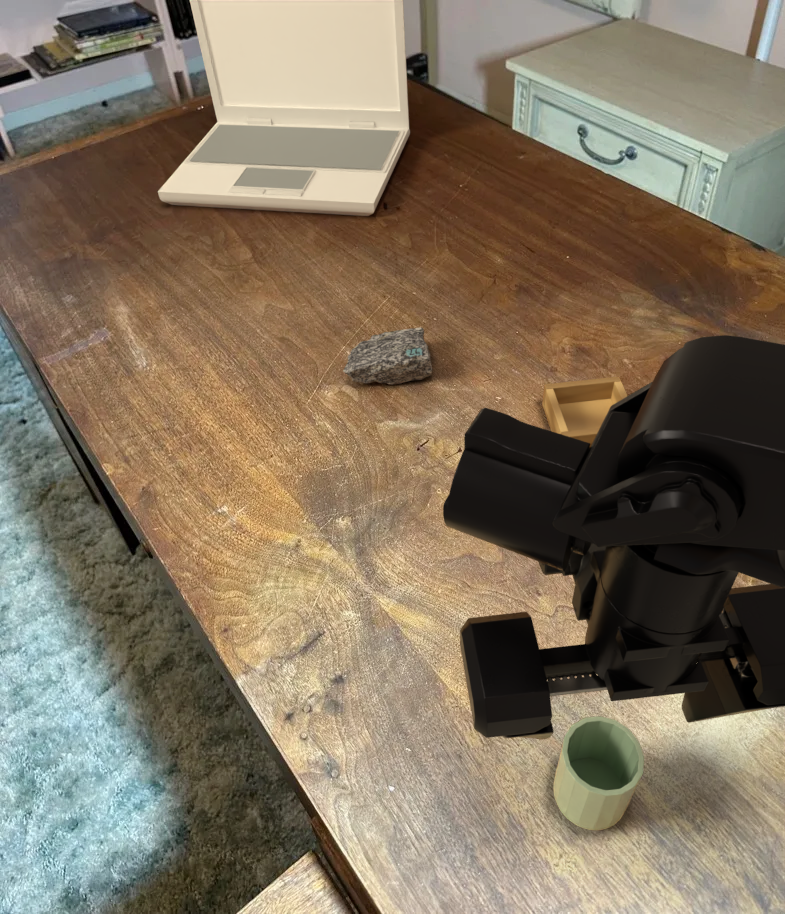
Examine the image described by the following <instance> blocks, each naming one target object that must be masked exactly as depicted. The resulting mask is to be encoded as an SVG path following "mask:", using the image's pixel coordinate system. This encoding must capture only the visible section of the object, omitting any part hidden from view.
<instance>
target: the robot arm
mask: <svg viewBox="0 0 785 914" xmlns="http://www.w3.org/2000/svg"><path fill="white" fill-rule="evenodd" d="M463 447H464V449H463V452H462V453H461V456H460V458H459V461H458V463H457V466H456V468H455V470H454V471H455V472H454V475H453V478H452V481H451V485H450V489H449V493H448V495H447V497H446V498H445V501H444V503H443V507H442V516H443V517H442V518H443V522H444V524H445V526H446V527H448V528H451V529H453V530H456V531H458V532H460V533H464V534H466V535H468V536H470V537H473V538H476V539H478V540H481V541H483V542H486V543H489V544H492V545H495V546H497V547H500V548H502V549H505V550H508V551H511V552H513V553H515V554H518V555H520V556H523V557H525V558H527V559H531V560H534V561H536V562H538V565H539V567H540V571H541V573H542V574H543V575H544V576H549V575H560V574H561V575H562V576H563V577H568V576H572V579H573V582H574V588H573V594H572V599H571V604H572V607H573V610H574V614H575V617H576V621H579V622H580V621H585V620H586V624H587V627H586V631H585V637H584V643H580V644H574V645H564V646H563V645H562V646H556V647H547V648H540V647H539V646H540V645H539V643H538V639H537V634H536V630H535V626H534V622H533V619H532V616H531V614H529V613H528V611H519V612H511V613H503V614H493V615H484V616H475V617H468V618H466V620H465V622H464V624H463V625H462V626H461V628H460V629H459V649H460V652H461V658H462V664H463V665H462V666H463V670H464V677H465V683H466V687H467V694H468V700H469V701H468V702H469V706H470V712H471V717H472V724H473V729H474V730H475V731H476V732H478V733H479V734H480V735H482V736H483V737H484V738H486V739H491V738H497V737H498V738H500V737H503V738H505V739H516V738H522V739H524V738H525V739H535V740H538V741H539V740H540V741H543V740H548V739H550V738H551V737H552V735H553V734H554V726H553V724H552V717H553V711H552V703H551V701H552V699H551V697H557V696H558V697H559V696H567V695H577V694H585V693H594V692H601V691H607V693H608V697H609V699H610V702H618V701H620V702H621V701H628V700H635V699H644V698H645V699H646V698H653V697H654V698H655V697H663V696H670V695H671V696H672V695H679V694H684V695H683V698H682V702H681V711H682V713H683V716H684V718H685V721H686V722H687V723H689V724H690V723H697V722H701V721H706V720H707V721H708V720H712V719H718V718H723V717H730V716H735V715H741V714H748V713H752V712H758V711H764V710H770V709H775V708H783V707H784V708H785V344H783V343H777V342H773V341H772V342H771V341H767V340H761V339H754V338H750V337H744V336H737V335H727V334H723V335H712V336H702V337H698V338H694V339H692V340H689V341H686V342H685V343H684V344H683V346H682V347H681V348H678V349H677V350H676V351H675V352H673V353H672V354H671V355H670V356H668V357H667V358H666V359H665V360H664V361H663V362H662V363H661V366H660V367H659V368H658V371H657V372H656V374H655V376H654V378H653V380H652V381H651V382H649V383H648V384H645V385H643V386H642V387H641V388H639V389H637V390H635V391H633V392H632V393H631V394H629V395H628V396H627V397H625V398H624V399H622V400H620V401H618V402H617V403H615V404H613V405H612V406H611V407H610V409H609V411H608V413H607V415H606V417H605V419H604V421H603V423H602V425H601V427H600V429H599V431H598V433H597V435H596V437H595V439H594V441H593V443H592V445H591V447H590V443H587V442H584V441H581V440H578V439H575V438H571V437H568V436H565V435H562V434H559V433H555V432H552V431H551V430H550V429H549V430H548V429H545V428H543V427H539V426H536V425H534V424H533V425H532V424H529V423H526V422H524V421H521V420H520V419H517V418H515V417H513V416H511V415H510V414H507V413H504V412H501V411H498V410H495V409H492V408H488V407H483V408H481V409H480V410H479V412H478V413H477V415H476V416H475V417H474V419H473V420H472V422H471V424H470V426H468V428H467V430H466V431H465V433H464V446H463ZM739 574H742V575H744V576H747V577H750V578H753V579H755V580H759V581H762V582H764V583H766V584H757V585H748V586H747V585H746V586H739V587H733V586H734V584H735V581H736V580H737V577H738V575H739Z"/></svg>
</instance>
